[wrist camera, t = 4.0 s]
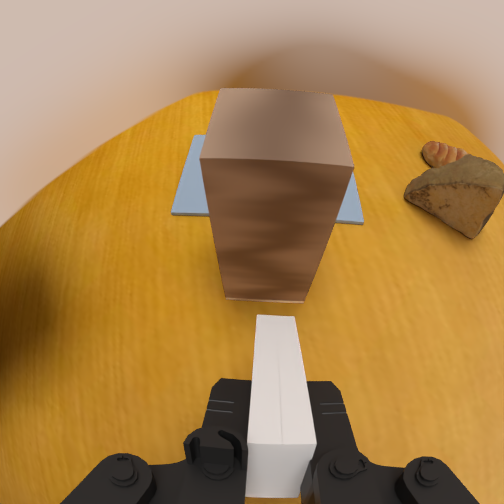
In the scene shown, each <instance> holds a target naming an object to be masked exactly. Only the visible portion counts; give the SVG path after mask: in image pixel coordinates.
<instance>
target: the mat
mask: <svg viewBox="0 0 504 504" xmlns="http://www.w3.org/2000/svg"><path fill="white" fill-rule="evenodd" d="M205 136H206V135H194V138H193V141H192V144H191V147H190V150H189V153H188V156H187V160H186V163H185V166H184V169H183V172H182V176H181V179H180V182H179V186H178V189H177V192H176V196H175V199H174V203H173V207H172V210H171V214H172V215H189V216H209V211H208V206H207V200H206V194H205V189H204V183H203V178H202V172H201V166H200V160H199V157H200V154H201V150H202V147H203V143H204V140H205ZM335 223H348V224H361V225H363V223H364V219H363V214H362V209H361V205H360V200H359V195H358V191H357V187H356V182H355V178H354V174H353V172H352V175H351V178H350V181H349V184H348V187H347V190H346V193H345V196H344V199H343V202H342V205H341V207H340V210H339V213H338V216H337V219H336V221H335Z"/></svg>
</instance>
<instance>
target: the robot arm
mask: <svg viewBox="0 0 504 504" xmlns="http://www.w3.org/2000/svg"><path fill="white" fill-rule="evenodd" d="M183 444H184V450H185V455H186V459H185V460H183V461H180V462H178V463H173V464H163V465H148V464H147V462H145V461H144V460H143V459H141V458H140V457H138V456H135V455H132V454H128V453H117V454H114V455H110V456H108V457H106V458H105V459H104V460H102V461H101V462H100V463H99V464H98V465H97V466H96V467H95V468H94V469H93V470H92V471H91V472H90V473H89V474H88V475H87V476H86V478H85V479H84V480H83V481H82V482H81V483H80V484H79V485H78V486H77V487H76V488H75V489H74V490H73V491H72V492H71V493H70V494H69V495H68V496H67V497H66V498H65V499H64V500H63V501H62V502H61V503H60V504H245V497H261V498H298V496H299V494H300V491H301V504H479V502H478V501H477V500H476V499H475V498H474V497H473V495H472V494H471V493H470V492H469V491H468V490H467V488H466V487H465V486H464V485H463V484H462V483H461V481H460V480H459V479H458V478H457V477H456V475H455V474H454V473H453V472H452V471H451V470H450V468H449V467H448V466H447V465H446V464H445V463H443V462H442V461H441V460H439V459H436V458H434V457H420V458H416V459H414V460H412V461H411V462H410V463H408V464H407V466H406V467H405V468H400V467H388V466H381V465H376V464H374V463H371V462H370V461H369V460H368V458H367V457H366V456H364V455H363V454H362V453H360V452H359V451H358V448H357V446H356V442H355V439H354V435H353V432H352V429H351V425H350V422H349V418H348V415H347V414H346V408H345V405H344V404H343V399H342V395H341V392H340V390H339V389H338V388H337V387H336V386H335V385H334V384H333V383H332V382H331V381H306V376H305V371H304V365H303V360H302V354H301V349H300V343H299V338H298V333H297V327H296V322H295V317H294V316H273V315H257V321H256V335H255V348H254V361H253V375H252V381H251V380H237V379H225V378H221V379H220V380H219V381H218V382H217V383H216V384H215V385H214V386H213V387H212V390H211V394H210V397H209V401H208V405H207V411H206V413H205V417H204V421H203V425H202V428H199V429H196V430H195V431H193V432H192V433H191V434H189V435H188V436H187V438H186V440H185V441H184V443H183Z"/></svg>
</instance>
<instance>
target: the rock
mask: <svg viewBox="0 0 504 504" xmlns="http://www.w3.org/2000/svg"><path fill="white" fill-rule="evenodd" d="M503 194H504V173H503V171H502V169H501V168H500V167H499V166H497V165H496V164H495V163H493V162H491V161H489V160H484V159H482V158H480V157H475V156H472V155H471V154H467V155H464V156H463V157H462V158H460V159H459V160H457V161H454V162H451V163H448V164H446V165H444V166H441V167H440V168H431V169H428V170H427V171H425V172H424V173H423V174H422V175H421V176H418V177H417V178H415V179H413V180H412V181H411V182H410V184H408V186H407V188H406V191H405V195H404V197H405V199H407V200H408V201H410V202H411V203H413V204H416V205H417V206H419V207H421V208H422V209H424V210H425V211H427V212H429V213H430V214H433V215H434V216H436V217H438V218H439V219H441V220H442V221H443V222H444V223H446V224H448V225H449V226H451V227H452V228H454V229H456V230H458V231H460V232H462V233H463V234H464V235H465V236H467V237H469V238H472V239H473V238H474V237H476V236H477V235H478V234H479V233H480V231H481V230H482V229H483V227H484V226H485V224H486V223H487V221H488V220H489V218H490V217H491V215H492V214H493V212H494V210H495V208H496V206H497V205H498V204H499V202H500V200H501V198H502V196H503Z"/></svg>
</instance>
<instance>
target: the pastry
mask: <svg viewBox="0 0 504 504" xmlns="http://www.w3.org/2000/svg"><path fill="white" fill-rule="evenodd" d="M422 153H423V156H424V159H425V160H426V162H427V163H428V164H429V165H430V166H432V167H433V168H440V167H441V166H444V165H446V164H448V163H451V162H454V161H457V160H459V159H460V158H462V157H463V156H464V155H467V154H468V153H467V152H466V151H465V150H463V149H461V148H455V147H451V146H448V145H447V144H445V143H439V142H435V141H430V142H428V143H426V144H425V145H424V146H423V149H422Z"/></svg>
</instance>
